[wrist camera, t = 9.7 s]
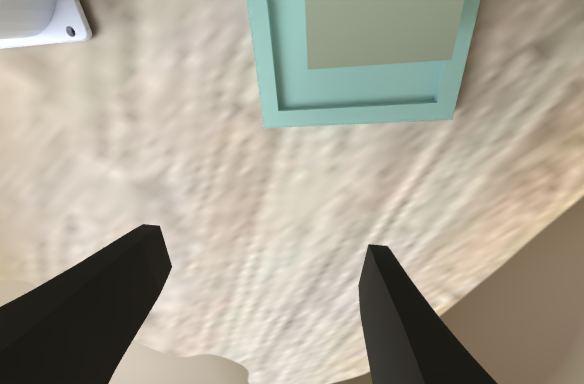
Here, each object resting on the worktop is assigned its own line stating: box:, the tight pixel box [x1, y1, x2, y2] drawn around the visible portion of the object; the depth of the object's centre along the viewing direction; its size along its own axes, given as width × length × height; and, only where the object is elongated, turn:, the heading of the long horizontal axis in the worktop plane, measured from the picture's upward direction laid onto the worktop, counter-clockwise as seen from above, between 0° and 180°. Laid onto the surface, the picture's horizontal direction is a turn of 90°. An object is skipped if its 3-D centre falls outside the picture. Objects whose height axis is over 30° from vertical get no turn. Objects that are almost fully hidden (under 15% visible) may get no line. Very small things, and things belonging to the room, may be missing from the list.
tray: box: [247, 0, 480, 128], centre depth 14 cm, size 11×11×1 cm
